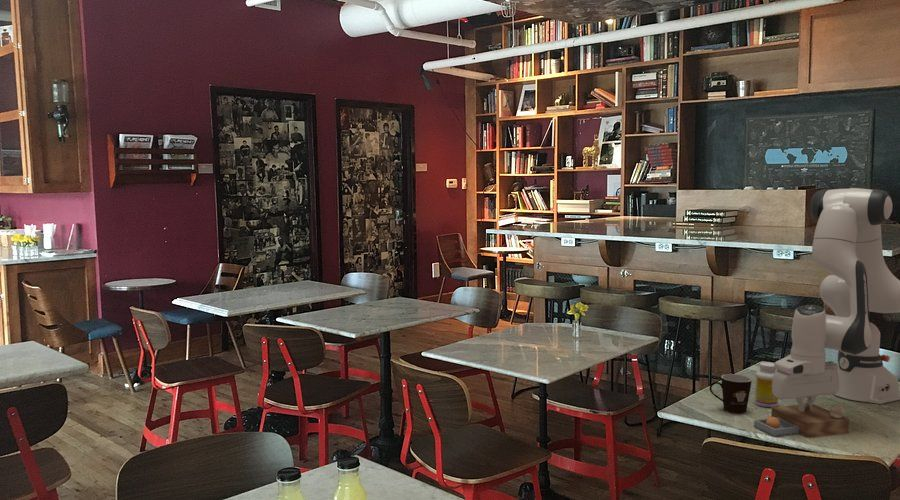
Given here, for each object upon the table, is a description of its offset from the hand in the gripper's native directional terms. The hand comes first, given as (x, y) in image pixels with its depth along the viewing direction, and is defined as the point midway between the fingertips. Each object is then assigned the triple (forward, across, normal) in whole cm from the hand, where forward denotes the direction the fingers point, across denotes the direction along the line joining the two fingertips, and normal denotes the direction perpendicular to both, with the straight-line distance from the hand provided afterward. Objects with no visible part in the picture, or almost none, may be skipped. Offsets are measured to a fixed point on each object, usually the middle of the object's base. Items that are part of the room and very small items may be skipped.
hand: (804, 410), depth 207 cm
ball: (+2, +11, +1) cm, 11 cm away
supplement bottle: (+5, -3, -20) cm, 20 cm away
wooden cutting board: (+5, -1, 0) cm, 5 cm away
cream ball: (-1, -5, +6) cm, 8 cm away
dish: (+4, +10, 0) cm, 11 cm away
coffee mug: (+5, +11, -18) cm, 22 cm away
